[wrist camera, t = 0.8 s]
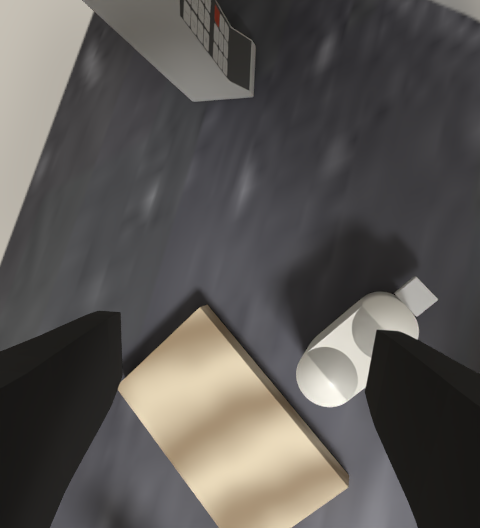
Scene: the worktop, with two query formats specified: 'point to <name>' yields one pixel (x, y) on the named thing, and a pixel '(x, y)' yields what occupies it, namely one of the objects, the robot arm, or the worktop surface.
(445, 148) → the worktop surface
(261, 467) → the birch board
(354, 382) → the capped bottle
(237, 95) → the vintage mobile phone
